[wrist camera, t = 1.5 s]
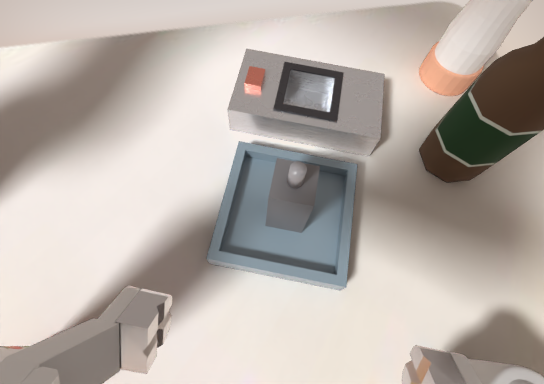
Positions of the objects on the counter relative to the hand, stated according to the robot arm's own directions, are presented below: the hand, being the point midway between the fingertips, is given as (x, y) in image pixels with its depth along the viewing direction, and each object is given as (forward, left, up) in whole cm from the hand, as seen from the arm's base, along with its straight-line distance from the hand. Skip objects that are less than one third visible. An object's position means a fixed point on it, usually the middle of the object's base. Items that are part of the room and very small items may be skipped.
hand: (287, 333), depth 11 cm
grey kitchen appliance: (0, +27, -22) cm, 35 cm away
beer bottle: (+19, +24, -23) cm, 38 cm away
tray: (0, +12, -22) cm, 26 cm away
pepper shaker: (+19, +38, -23) cm, 48 cm away
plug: (0, +12, -21) cm, 25 cm away
